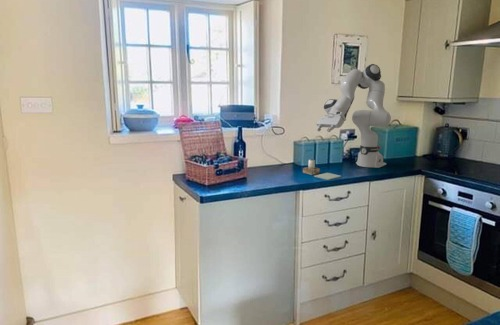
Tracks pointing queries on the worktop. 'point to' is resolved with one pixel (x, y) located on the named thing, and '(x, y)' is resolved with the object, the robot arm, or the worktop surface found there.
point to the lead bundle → (311, 164)
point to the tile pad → (327, 176)
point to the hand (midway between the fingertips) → (323, 131)
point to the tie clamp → (311, 171)
